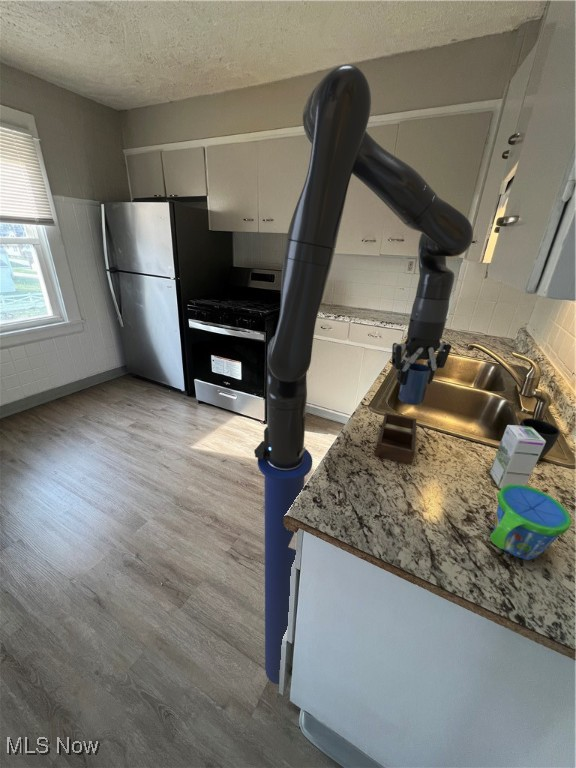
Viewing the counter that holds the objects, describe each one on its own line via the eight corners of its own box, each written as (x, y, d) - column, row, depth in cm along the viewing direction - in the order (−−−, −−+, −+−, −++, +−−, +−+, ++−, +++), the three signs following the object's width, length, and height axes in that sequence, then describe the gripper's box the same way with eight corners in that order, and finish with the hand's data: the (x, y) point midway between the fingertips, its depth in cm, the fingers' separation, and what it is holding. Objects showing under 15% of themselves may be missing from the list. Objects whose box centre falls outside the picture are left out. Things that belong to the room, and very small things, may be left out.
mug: (489, 443, 90) (500, 415, 86) (534, 448, 89) (547, 419, 85) (503, 462, 83) (515, 432, 79) (552, 467, 81) (567, 437, 77)
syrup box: (524, 492, 73) (548, 441, 67) (497, 488, 74) (518, 437, 67) (512, 475, 78) (534, 426, 72) (487, 472, 79) (506, 423, 72)
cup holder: (375, 456, 83) (377, 443, 82) (382, 423, 98) (385, 412, 96) (411, 465, 80) (414, 452, 79) (413, 430, 95) (416, 418, 93)
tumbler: (397, 402, 79) (403, 369, 75) (399, 392, 84) (405, 361, 80) (422, 407, 77) (430, 373, 73) (423, 396, 82) (430, 365, 78)
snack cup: (510, 582, 53) (532, 541, 49) (461, 531, 62) (476, 493, 58) (571, 556, 58) (596, 516, 54) (517, 512, 67) (535, 476, 63)
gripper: (447, 313, 76) (432, 376, 83) (391, 313, 74) (380, 378, 81) (467, 320, 69) (449, 388, 76) (405, 321, 67) (392, 391, 74)
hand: (413, 383), depth 79 cm, fingers closed on tumbler, 6 cm apart
